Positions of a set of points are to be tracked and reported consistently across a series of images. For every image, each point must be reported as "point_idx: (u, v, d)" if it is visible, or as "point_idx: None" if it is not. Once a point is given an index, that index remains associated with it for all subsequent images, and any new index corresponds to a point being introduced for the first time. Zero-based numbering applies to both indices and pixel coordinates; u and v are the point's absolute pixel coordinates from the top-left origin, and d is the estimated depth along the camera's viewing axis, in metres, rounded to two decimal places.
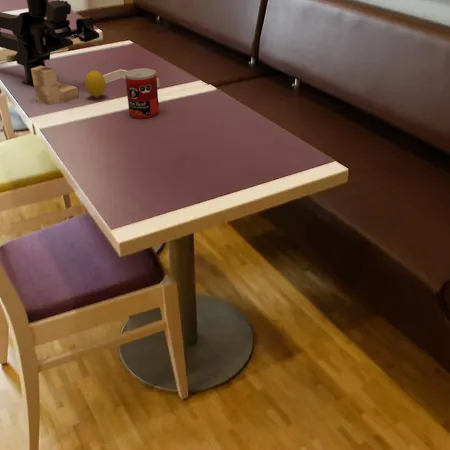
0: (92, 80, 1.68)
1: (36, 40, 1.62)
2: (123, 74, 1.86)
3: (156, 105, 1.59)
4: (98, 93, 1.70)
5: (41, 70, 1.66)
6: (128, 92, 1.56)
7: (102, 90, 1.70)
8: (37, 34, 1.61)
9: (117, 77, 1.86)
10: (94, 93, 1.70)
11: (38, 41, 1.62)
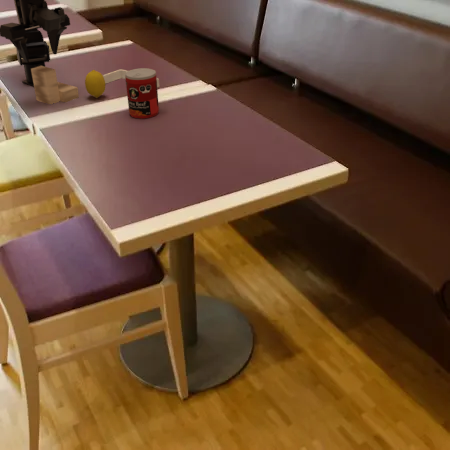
0: (92, 80, 1.68)
1: (5, 32, 1.54)
2: (123, 74, 1.86)
3: (156, 105, 1.59)
4: (98, 93, 1.70)
5: (41, 70, 1.66)
6: (128, 92, 1.56)
7: (102, 90, 1.70)
8: (10, 36, 1.54)
9: (117, 77, 1.86)
10: (94, 93, 1.70)
11: (6, 35, 1.55)
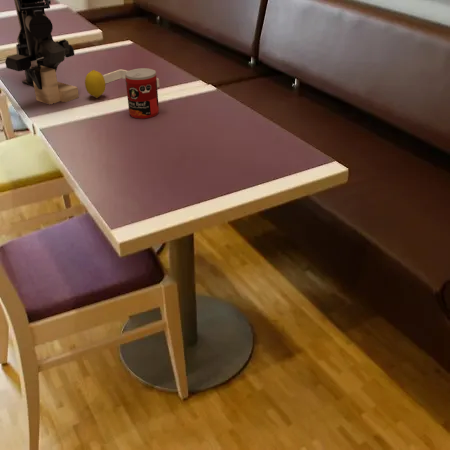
0: (92, 80, 1.68)
1: (11, 64, 1.59)
2: (123, 74, 1.86)
3: (156, 105, 1.59)
4: (98, 93, 1.70)
5: (41, 70, 1.65)
6: (128, 92, 1.56)
7: (102, 90, 1.70)
8: (16, 68, 1.58)
9: (117, 77, 1.86)
10: (94, 93, 1.70)
11: (12, 67, 1.59)
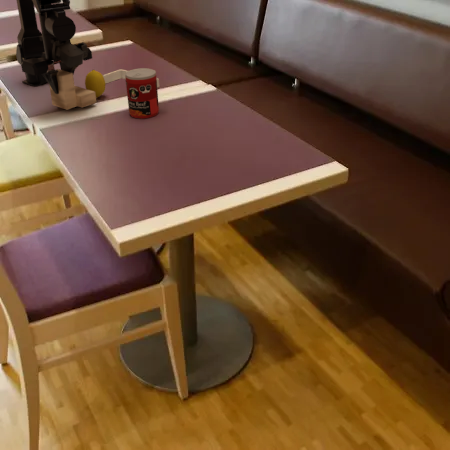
0: (92, 80, 1.68)
1: (28, 68, 1.52)
2: (123, 74, 1.86)
3: (156, 105, 1.59)
4: (98, 93, 1.70)
5: (58, 74, 1.59)
6: (128, 92, 1.56)
7: (102, 90, 1.70)
8: (33, 72, 1.52)
9: (117, 77, 1.86)
10: None
11: (28, 71, 1.52)
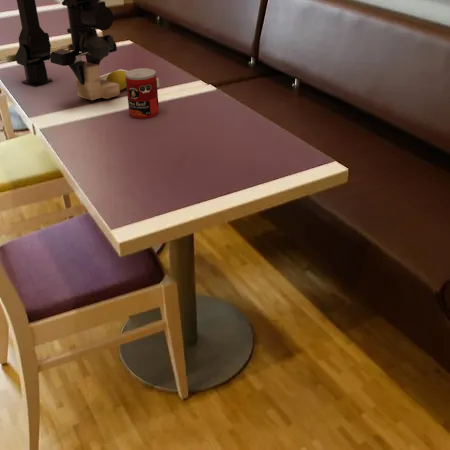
0: (125, 73, 1.76)
1: (56, 58, 1.58)
2: None
3: (156, 105, 1.59)
4: (117, 80, 1.74)
5: (85, 65, 1.65)
6: (128, 92, 1.56)
7: (120, 84, 1.75)
8: (61, 63, 1.57)
9: None
10: (115, 76, 1.74)
11: (57, 61, 1.58)
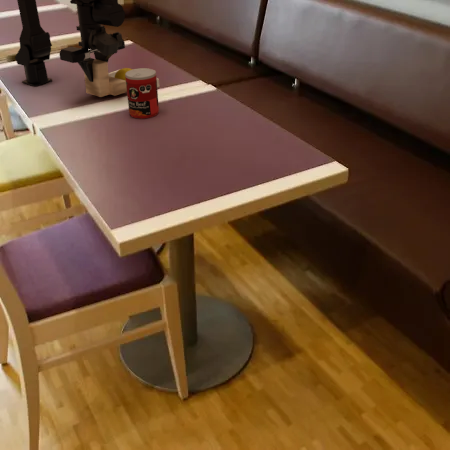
0: None
1: (66, 56, 1.60)
2: None
3: (156, 105, 1.59)
4: None
5: (93, 63, 1.67)
6: (128, 92, 1.56)
7: None
8: (71, 60, 1.59)
9: None
10: (123, 73, 1.76)
11: (66, 59, 1.60)
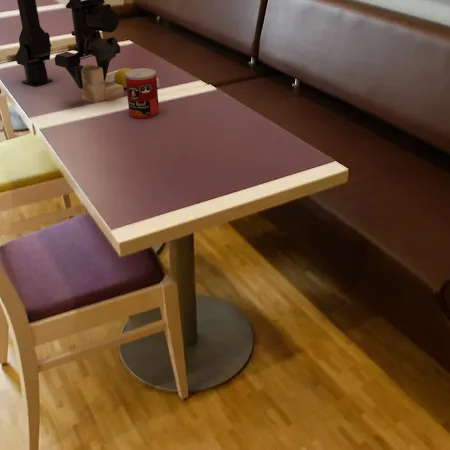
0: None
1: (61, 61, 1.59)
2: None
3: (156, 105, 1.59)
4: (124, 77, 1.76)
5: (88, 69, 1.66)
6: (128, 92, 1.56)
7: None
8: (66, 65, 1.59)
9: None
10: (123, 74, 1.76)
11: (61, 64, 1.60)
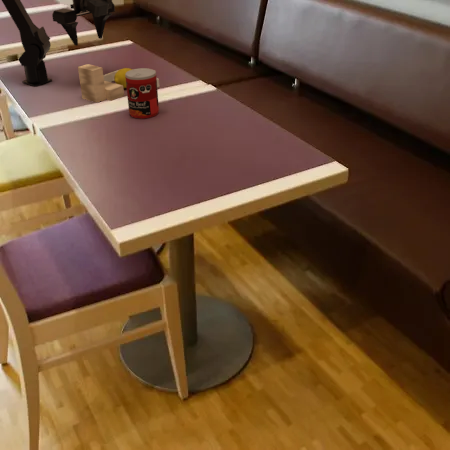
0: None
1: (58, 17, 1.68)
2: None
3: (156, 105, 1.59)
4: (124, 77, 1.76)
5: (88, 69, 1.66)
6: (128, 92, 1.56)
7: None
8: (63, 21, 1.67)
9: None
10: (123, 74, 1.76)
11: (59, 20, 1.68)
